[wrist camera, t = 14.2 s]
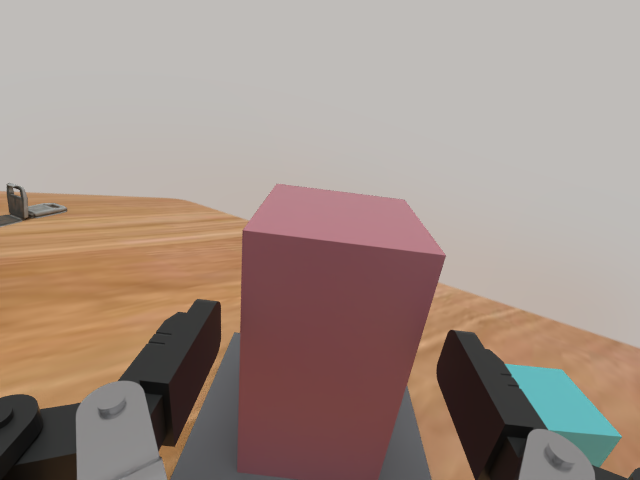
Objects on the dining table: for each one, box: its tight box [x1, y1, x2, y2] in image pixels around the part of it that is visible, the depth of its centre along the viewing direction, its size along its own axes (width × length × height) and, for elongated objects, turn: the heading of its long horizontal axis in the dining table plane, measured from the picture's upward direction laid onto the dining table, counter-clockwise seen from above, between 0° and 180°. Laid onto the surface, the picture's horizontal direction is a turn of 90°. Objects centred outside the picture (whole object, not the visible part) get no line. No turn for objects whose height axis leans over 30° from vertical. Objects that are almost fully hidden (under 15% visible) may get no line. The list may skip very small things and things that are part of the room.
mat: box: [170, 332, 432, 480], centre depth 18 cm, size 12×12×1 cm
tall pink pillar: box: [237, 184, 446, 480], centre depth 15 cm, size 6×6×12 cm
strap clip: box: [0, 183, 67, 227], centre depth 37 cm, size 8×3×4 cm, turn 157°
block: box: [505, 364, 622, 467], centre depth 17 cm, size 4×4×4 cm
